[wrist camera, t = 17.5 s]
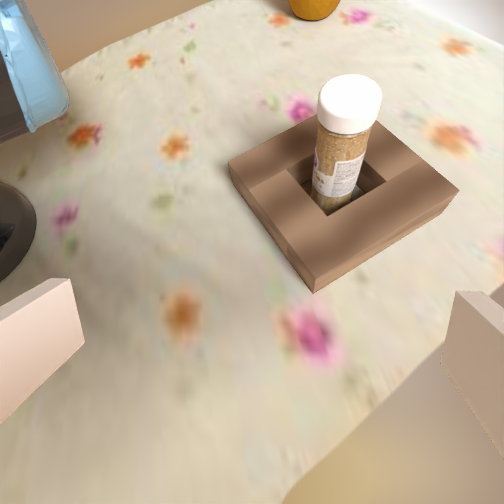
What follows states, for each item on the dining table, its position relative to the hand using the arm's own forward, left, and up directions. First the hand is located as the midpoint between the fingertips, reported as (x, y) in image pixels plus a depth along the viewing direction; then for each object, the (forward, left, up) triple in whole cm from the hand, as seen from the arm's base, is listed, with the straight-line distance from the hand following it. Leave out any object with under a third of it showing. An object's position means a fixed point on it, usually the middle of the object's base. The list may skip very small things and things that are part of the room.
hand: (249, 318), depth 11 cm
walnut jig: (-12, +15, -19) cm, 27 cm away
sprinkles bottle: (-12, +15, -19) cm, 27 cm away
